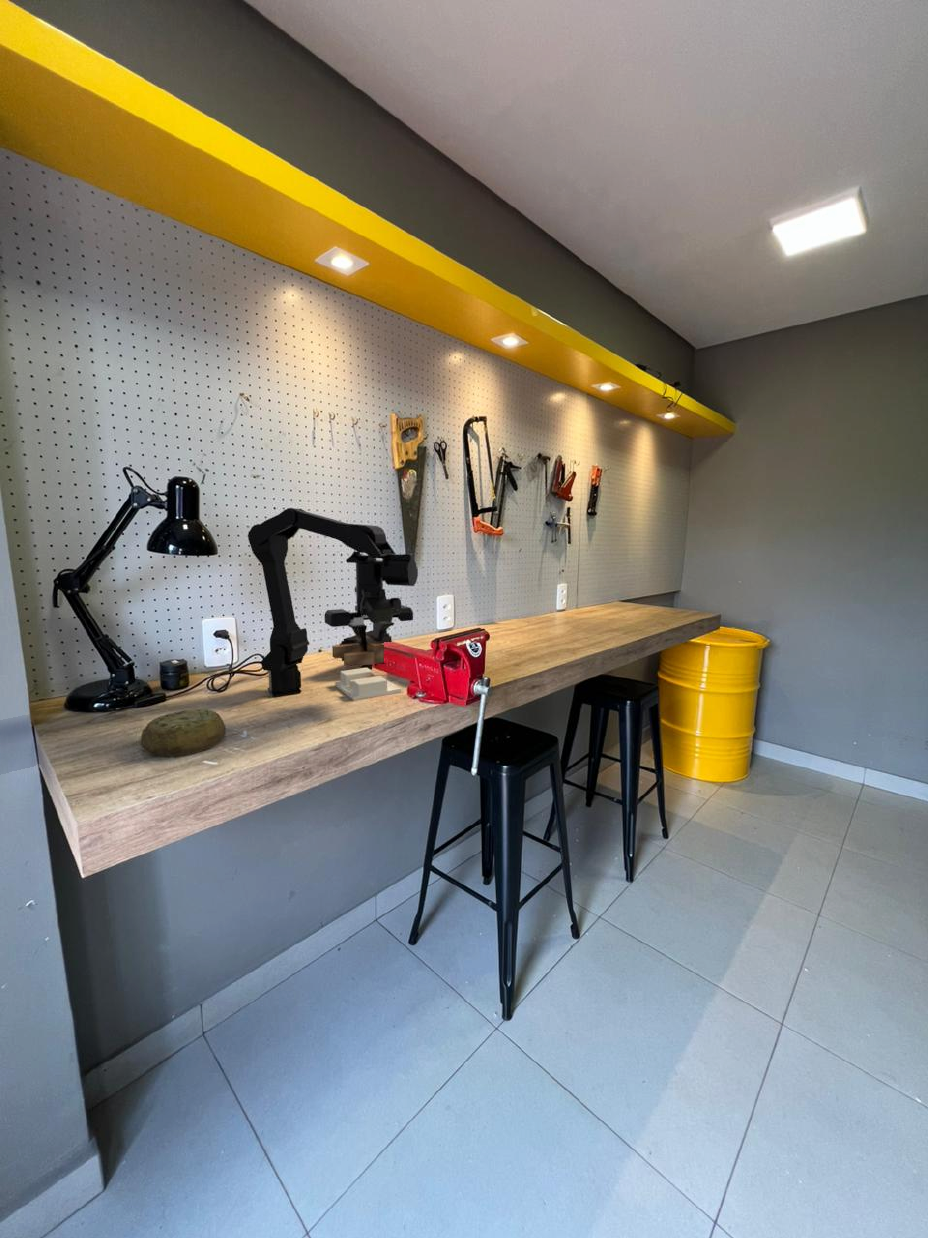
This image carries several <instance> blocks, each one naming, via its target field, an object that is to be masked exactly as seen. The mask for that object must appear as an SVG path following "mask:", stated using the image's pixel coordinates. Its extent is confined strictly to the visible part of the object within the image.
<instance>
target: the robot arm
mask: <svg viewBox="0 0 928 1238" xmlns="http://www.w3.org/2000/svg"><path fill="white" fill-rule="evenodd" d="M300 529H301V530H304V531H307V532H311V533H315V534H318V535H321V536H325V537H328V538H331V539H335V540H337V541H339V542H341V543H342V544H343V545H345V546H346V547H348V548H350V549H351V550H354V551H353V552H352V554H351V555H349V557H348V558H346V560H345V561H346V562H347V563H349V564H350V563H351V564H352V563H353V564H355V586H356V587H354V593H355V594H356V597H355V598H356V605H354V611H352V612H349V611H347V610H345V609H344V608H340V609H339V608H338V609H337V608H336V609H327V610H326V611H325V613H324V616H323V617H324V623H325V624H327V625H328V626H330V627H332V628H337V627H350V628H351V630H352V631H353V633H354V636H355V635H356V637H357V639H358V642H359V644H360V646H361V649H362V651H363V652H364V651H367V642H366V632H367V628H368V626H367V624H365V622H364V621H367V620H369V621H370V622H371V623H372V630H373V639H374V640H376V641H378V642H380V643H381V641H382V639H383V636H384V634H385V632H386V631H388V630H389V628H390V627H393V626H394V625H395V623H394V622H392V621H393V619H395V618H397V619H398V620H399V621H400V622H408V621H410V622H411V621H414V611H413V609H412V608H411V607H410V606H409V607H408V606H406V605H402V600H401V598H400V597H391V598H388V599H387V596H386V589H385V588H383V587H384V584H383V583H384V582H385V584H386V585H388V586H402V587H403V586H404V587H414V586H415V585H416V583H417V579H418V575H419V569H418V568H417V563H416V560H415V558H414V556H415V555H414V553H404V554H398V553H397V554H396V552H395V550H394V549H393V548H392V546H391V545H390V544H389V542H388V540H387V535H386V532H385V531H384V529H383V528H382V527H380V526H378V525H369V524H359V523H358V524H356V523H348V522H343V521H340V520H337V519H333V518H331V517H327V516H323V515H320V514H316V513H312V512H309V511H306V510H304V509H302V508H294V507H293V508H292V507H288V508H286V509H285V510H284V509H283V511H282V512H280V513H278V514H277V515H275V516H272V517H270V518H268V519H266V520H264V521H262V522H261V523H260V524H259V523H257V524H255V525H253V526H251V528H250V529H249V531H248V535H247V537H248V542H249V546H250V548H251V551H252V554H253V555H254V557H256V560H257V561H258V562H259V563H260V565H261V567H262V572H263V578H264V582H265V587H266V593H267V598H268V599H267V600H268V604H269V609H270V615H271V621H272V631H271V633H270V637H269V652H268V653H267V654H266V655H264V657H263V658H262V659H261V660H260V665H261V668H262V670H263V671H267V675H268V687H267V691H268V692H269V693H270V694H269V695H271V696H272V697H274V698H276V697H281V696H287V695H292V694H293V695H294V694H300V693H302V690H301V688H302V675H301V674H302V673H301V671H300V670H299V664H302V662H303V659H304V656H306V654H307V653H308V649H309V647H308V646H309V645H310V641H309V639H308V631H307V628H306V627H303V628H300V626H299V625H298V624H297V622H296V617H295V613H294V608H293V603H292V597H291V596H292V595H291V591H290V586H289V580H288V576H287V575H288V574H287V569H286V558H287V555H288V552H289V540H290V539H291V538H293V537H294V536H296V534H297V533H298V532H299V530H300ZM380 559H381V560H380Z"/></svg>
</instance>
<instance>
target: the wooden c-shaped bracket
mask: <svg viewBox="0 0 928 1238" xmlns="http://www.w3.org/2000/svg"><path fill="white" fill-rule="evenodd" d="M366 642H367V651H364V652H363V651H362V649H361V646H360V644H359V642H358V643H354V644H344V645H339V644H336V645H332V647H331V648H332V658H334V659H342V657H344V661H343V666H344V667H346V668H353V667H361V666H362V665H369V664H376V665H377V664H383V663H384V645H383V644H382V643H380V642H378V641H376V640H374V639H372V638H370V637H368V636H366Z"/></svg>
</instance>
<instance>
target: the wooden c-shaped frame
mask: <svg viewBox="0 0 928 1238" xmlns="http://www.w3.org/2000/svg"><path fill="white" fill-rule="evenodd" d="M359 668H360V667H359ZM359 668H354V669H348V670H340V681H336V682H334V685H335V687H337V688H338V689H339V690H340V691H341V692H343V693H344V695H346V696H347V697H349V698H350V699H352V700H353V701H360V700H364V699H369V698H376V697H380V696H381V697H382V696H386V695H393V694H398V693H402V688H401V687H399V686H398V685H396V684H394V683H393V682H391V681H390V680H388V674H387V673H386V672H385V671H383V670H379V671H373V669H371V670H370V669H368V668H360V669H359Z"/></svg>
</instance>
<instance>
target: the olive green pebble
mask: <svg viewBox="0 0 928 1238" xmlns="http://www.w3.org/2000/svg"><path fill="white" fill-rule="evenodd" d="M141 732H142V733H141V736H140V737H141V738H140V745H141V748H142V749H143V750H144V751H145V752H146V753H148V754H149V755H152V756H157V757H178V756H182V755H183V756H184V755H191V754H195V753H198V752H202V751H207V750H209V749H211V748H213V747H214V746H216V745H218V744H219V743H220V742H221V741H222V740H223V739H224V738H225V737H226V725H225V722H224V720H223V718H222V717H221V716H220V714H219V713H217V712H216V711H213V710H211V709H208V708H192V709H184V710H178V711H174V712H169V713H167V714H166V713H165V714H163V715H159V716H158V717H155V718H154V719H152V720H151V721H149V722H148V723H147V724H146V726H145V727H144V729H143V730H142V731H141Z"/></svg>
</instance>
